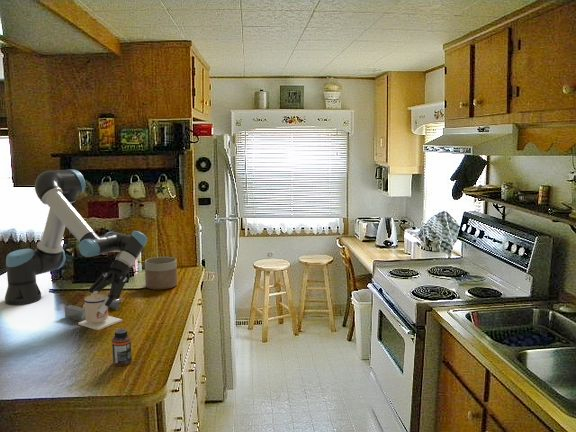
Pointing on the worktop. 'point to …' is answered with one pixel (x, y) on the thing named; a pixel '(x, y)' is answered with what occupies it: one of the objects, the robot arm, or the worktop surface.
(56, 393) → the worktop surface
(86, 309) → the teacup with lid
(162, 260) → the planter
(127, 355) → the supplement bottle
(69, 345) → the worktop surface
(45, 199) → the robot arm
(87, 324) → the tile
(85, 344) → the worktop surface
